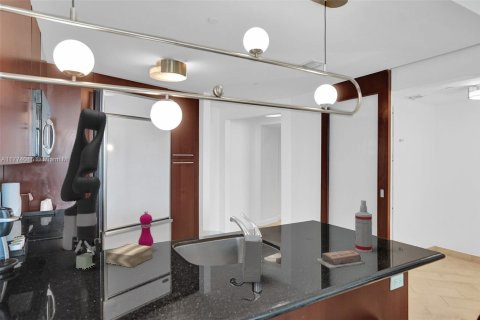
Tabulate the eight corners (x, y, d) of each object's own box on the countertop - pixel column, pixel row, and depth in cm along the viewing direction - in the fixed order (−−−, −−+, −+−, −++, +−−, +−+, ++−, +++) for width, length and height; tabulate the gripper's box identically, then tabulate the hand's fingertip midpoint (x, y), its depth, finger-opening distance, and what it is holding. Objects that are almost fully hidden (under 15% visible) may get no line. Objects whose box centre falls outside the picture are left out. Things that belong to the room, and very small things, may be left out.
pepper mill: (144, 254, 144) (144, 212, 144) (135, 251, 148) (135, 211, 148) (156, 250, 149) (156, 210, 149) (147, 248, 154) (147, 209, 154)
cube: (76, 268, 125) (76, 256, 125) (86, 264, 130) (86, 252, 130) (85, 269, 123) (85, 257, 123) (95, 265, 128) (95, 254, 128)
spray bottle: (352, 249, 152) (352, 200, 152) (360, 246, 156) (360, 199, 156) (366, 253, 146) (366, 201, 146) (374, 250, 150) (374, 200, 150)
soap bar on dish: (349, 247, 140) (364, 253, 131) (348, 257, 140) (364, 264, 131) (316, 251, 134) (330, 258, 124) (316, 262, 134) (330, 270, 124)
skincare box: (241, 274, 118) (241, 234, 118) (259, 274, 119) (259, 234, 119) (243, 283, 110) (243, 240, 110) (262, 282, 110) (262, 239, 110)
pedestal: (105, 263, 131) (105, 252, 131) (127, 254, 144) (128, 243, 144) (132, 267, 126) (132, 255, 126) (152, 257, 139) (152, 246, 139)
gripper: (66, 224, 126) (66, 263, 125) (92, 226, 121) (93, 266, 121) (81, 221, 133) (81, 257, 133) (106, 222, 128) (106, 260, 128)
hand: (86, 261), depth 127 cm, fingers open, 8 cm apart
